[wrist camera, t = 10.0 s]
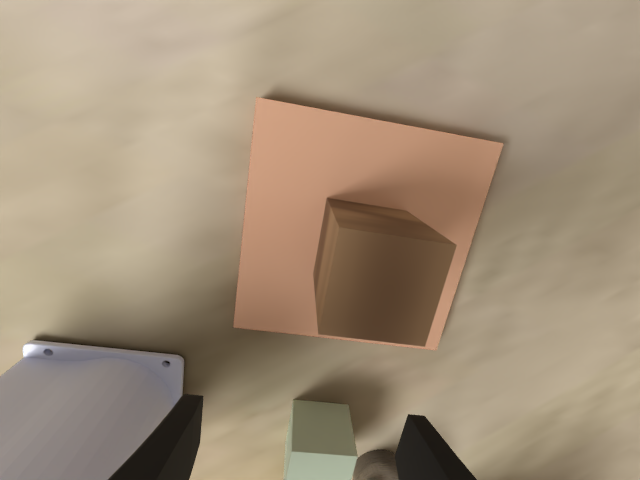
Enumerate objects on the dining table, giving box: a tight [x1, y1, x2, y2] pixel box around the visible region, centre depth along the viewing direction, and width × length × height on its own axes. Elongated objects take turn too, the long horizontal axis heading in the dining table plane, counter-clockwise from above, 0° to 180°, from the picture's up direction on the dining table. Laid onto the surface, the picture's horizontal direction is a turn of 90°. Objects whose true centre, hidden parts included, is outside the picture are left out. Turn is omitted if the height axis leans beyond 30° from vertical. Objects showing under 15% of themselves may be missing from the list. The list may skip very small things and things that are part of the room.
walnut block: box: [313, 198, 457, 347], centre depth 15 cm, size 4×4×6 cm
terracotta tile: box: [233, 97, 504, 350], centre depth 18 cm, size 13×13×1 cm
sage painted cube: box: [284, 399, 358, 480], centre depth 21 cm, size 4×4×4 cm
